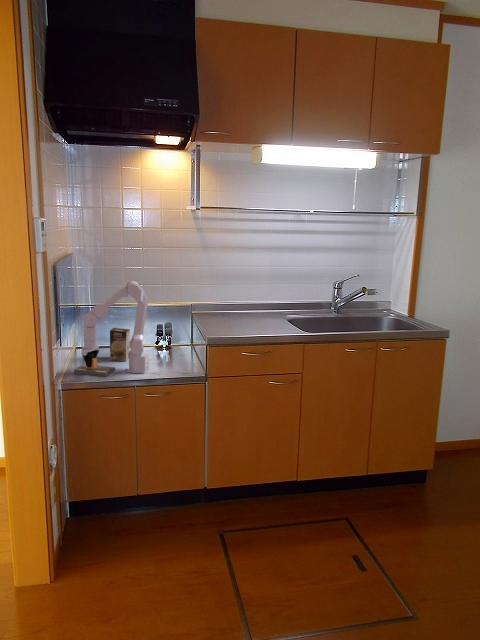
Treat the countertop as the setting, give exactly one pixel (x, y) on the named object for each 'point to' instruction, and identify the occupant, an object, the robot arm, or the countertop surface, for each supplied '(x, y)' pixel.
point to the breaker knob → (93, 364)
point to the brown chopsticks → (111, 367)
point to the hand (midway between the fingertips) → (90, 365)
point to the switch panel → (94, 371)
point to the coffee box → (119, 344)
